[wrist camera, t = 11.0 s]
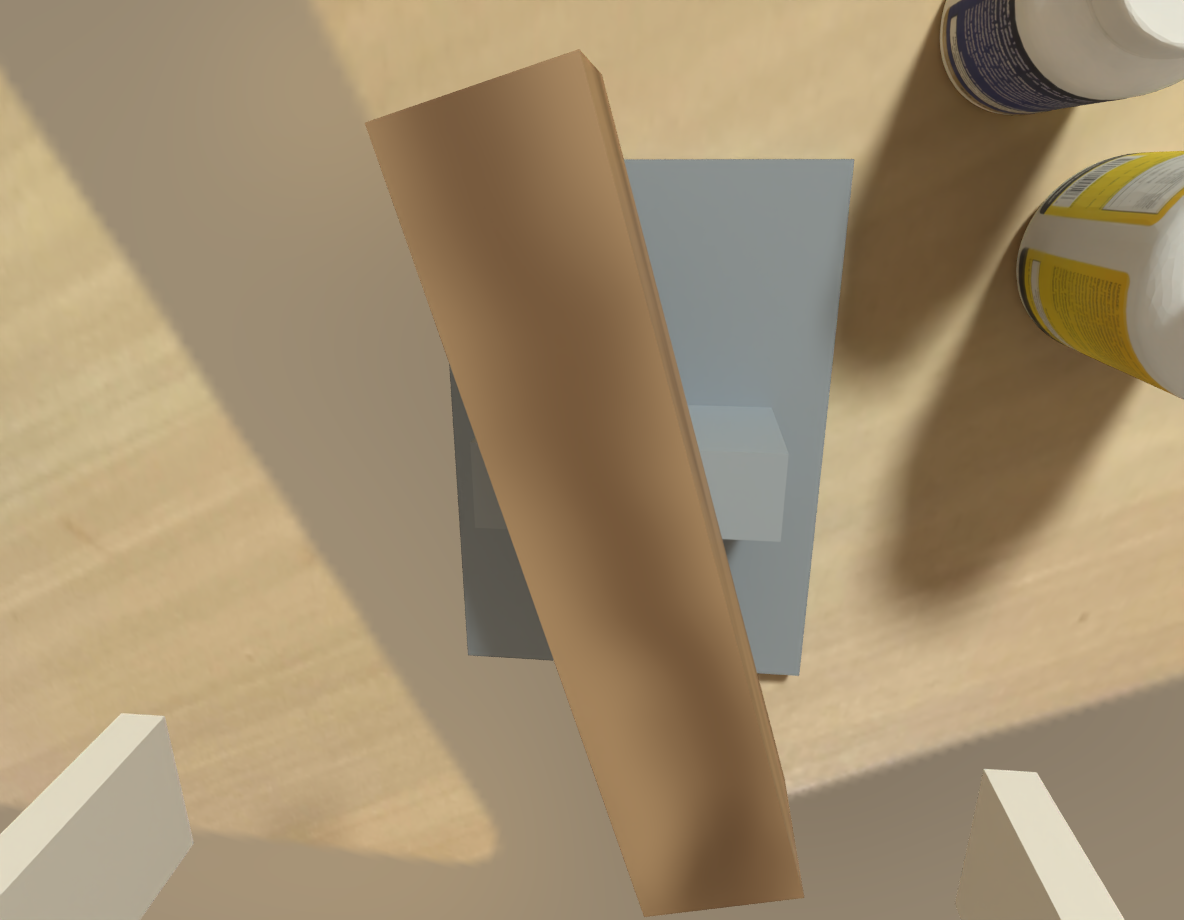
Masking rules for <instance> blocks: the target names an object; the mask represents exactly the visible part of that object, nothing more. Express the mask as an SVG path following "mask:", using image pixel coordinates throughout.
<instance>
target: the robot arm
mask: <svg viewBox="0 0 1184 920" xmlns="http://www.w3.org/2000/svg"><path fill="white" fill-rule="evenodd" d="M193 844H194V842H193V837H192V833H191V828H190V824H189V820H188V815H187V811H186V807H185V802H184V798H183V794H182V789H181V785H180V781H179V776H178V772H177V767H176V763H175V759H174V754H173V750H172V746H171V741H170V737H169V733H168V728H167V724H166V720H165V716H155V715H139V714H124V713H121V714H120V715H119V716H118V717H117V718H116V719H115V720H114V721H113V722H112V723H111V724H110V725H109V726H108V727H107V728H106V729H105V730H104V731H103V732H102V733H101V734H100V735H99V736H98V737H97V738H96V739H95V740H94V741H93V742H92V743H91V744H90V745H89V746H88V747H87V748H86V749H85V750H84V751H83V752H82V753H81V754H80V755H79V756H78V757H77V758H76V759H75V760H74V761H73V762H72V763H71V764H70V765H69V766H68V767H67V768H66V769H65V770H64V771H63V772H62V773H61V774H60V775H59V776H58V777H57V778H56V779H55V780H54V781H53V782H52V783H51V784H50V785H49V786H48V787H47V788H46V789H45V790H44V791H43V792H42V793H41V794H40V795H39V796H38V797H37V798H36V799H35V800H34V801H33V802H32V803H31V804H30V805H29V806H28V807H27V808H26V809H25V810H24V811H23V812H22V813H21V814H20V815H19V816H18V817H17V818H16V819H15V820H14V821H13V822H12V823H11V824H10V825H9V826H8V827H7V828H6V829H5V830H4V831H3V832H2V833H1V834H0V920H140V919H141V918H142V916H143V915H144V913H145V912H146V911H147V909H148V908H149V906H150V905H151V903H152V902H153V901H154V899H155V898H156V896H157V895H158V894H159V892H160V890H161V889H162V888H163V886H164V885H165V883H166V882H167V881H168V879H169V878H170V876H171V875H172V874H173V872H174V871H175V869H176V868H177V866H178V865H179V864H180V862H181V861H182V859H183V858H184V857H185V855H186V854H187V852H188V851H189V849H190V848H191V847H192V845H193ZM955 905H956V908H957V910H958V913H959V915H960V918H961V920H1124V918H1123V917H1122V915H1121V913H1120V912H1119V910H1118V908H1117V907H1116V905H1115V903H1114V901H1113V900H1112V898H1111V897H1110V895H1109V893H1108V892H1107V890H1106V888H1105V886H1104V885H1103V883H1102V881H1101V880H1100V878H1099V876H1098V875H1097V873H1096V871H1095V870H1094V868H1093V866H1092V865H1091V863H1090V861H1089V860H1088V858H1087V856H1086V855H1085V853H1084V851H1083V849H1082V848H1081V846H1080V844H1079V843H1078V841H1077V839H1076V838H1075V836H1074V834H1073V833H1072V831H1071V829H1070V828H1069V826H1068V824H1067V823H1066V821H1065V819H1064V818H1063V816H1062V814H1061V813H1060V811H1059V809H1058V808H1057V806H1056V804H1055V803H1054V801H1053V800H1052V798H1051V796H1050V794H1049V792H1048V791H1047V789H1046V788H1045V786H1044V784H1043V782H1042V781H1041V779H1040V777H1039V776H1038V774H1037V773H1036V772H1022V771H1007V770H991V769H984V770H983V775H982V780H981V784H980V789H979V794H978V798H977V803H976V808H975V812H974V817H973V822H972V826H971V831H970V836H969V841H968V846H967V850H966V854H965V859H964V864H963V868H962V873H961V877H960V882H959V887H958V892H957V896H956V901H955Z"/></svg>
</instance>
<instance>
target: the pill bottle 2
mask: <svg viewBox="0 0 1184 920" xmlns="http://www.w3.org/2000/svg"><path fill="white" fill-rule="evenodd" d="M1016 275H1017V285H1018V291H1019V294H1020V298H1021V301H1022V303H1023V305H1024V307H1025V309H1026V311H1027V313H1028V315H1029V316H1030V317H1031V319H1032V320H1033V321H1034V323H1035V324H1036V325H1037V326H1038V327H1039V328H1040V329H1041V330H1042V331H1043V332H1045V333H1046V334H1047V335H1048V336H1050V337H1051V338H1053V339H1054V340H1056V341H1058V342H1060V343H1061V344H1063V345H1065V346H1068V347H1070V348H1072V349H1074V350H1076V351H1078V352H1081V353H1083V354H1085V355H1087V356H1089V357H1091V358H1094V359H1096V360H1098V361H1100V362H1102V363H1104V364H1107V365H1109V366H1111V367H1113V368H1116V369H1118V370H1120V371H1122V372H1125V373H1127V374H1129V375H1131V376H1133V377H1136V378H1138V379H1140V380H1142V381H1144V382H1146V383H1149V384H1151V385H1153V386H1155V387H1157V388H1160V389H1162V390H1164V391H1166V392H1168V393H1170V394H1173V395H1175V396H1177V397H1179V398H1181V399H1184V151H1171V152H1148V153H1134V154H1126V155H1122V156H1117V157H1113V158H1110V159H1107V160H1104V161H1101V162H1098V163H1096V164H1094V165H1091V166H1089V167H1087V168H1085V169H1084V170H1082V171H1080V172H1078V173H1077V174H1075V175H1074V176H1072V177H1071V178H1069V179H1068V180H1066V181H1065V182H1064V183H1063V184H1061V185H1060V186H1059V187H1058V188H1057V189H1056V190H1055V191H1053V192H1052V193H1051V194H1050V195H1049V196H1048V198H1047V199H1046V200H1045V201H1044V202H1043V203H1042V205H1041V206H1040V207H1039V209H1038V210H1037V211H1036V213H1035V214H1034V216H1033V217H1032V219H1031V221H1030V223H1029V225H1028V226H1027V229H1026V231H1025V233H1024V236H1023V239H1022V241H1021V245H1020V248H1019V253H1018V258H1017V269H1016Z"/></svg>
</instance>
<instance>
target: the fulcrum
mask: <svg viewBox="0 0 1184 920" xmlns="http://www.w3.org/2000/svg"><path fill="white" fill-rule="evenodd" d="M624 162H625V166H626V170H627V174H628V178H629V182H630V185H631V189H632V193H633V197H634V201H635V205H636V209H637V212H638V216H639V220H640V224H641V228H642V232H643V236H644V239H645V243H646V247H647V251H648V255H649V259H650V262H651V266H652V270H653V274H654V278H655V282H656V286H657V289H658V293H659V297H660V301H661V305H662V309H663V313H664V316H665V320H666V324H667V328H668V332H669V336H670V340H671V343H672V347H673V351H674V355H675V359H676V363H677V367H678V370H679V374H680V378H681V382H682V386H683V390H684V394H685V397H686V401H687V405H688V409H689V413H690V417H691V420H692V424H693V428H694V432H695V436H696V440H697V444H698V447H699V451H700V455H701V459H702V463H703V467H704V471H705V474H706V478H707V482H708V486H709V490H710V494H711V498H712V501H713V505H714V509H715V513H716V517H717V521H718V525H719V528H720V532H721V536H722V540H723V544H724V548H725V552H726V555H727V559H728V563H729V567H730V571H731V575H732V578H733V582H734V586H735V590H736V594H737V598H738V602H739V605H740V609H741V613H742V617H743V621H744V625H745V629H746V632H747V636H748V640H749V644H750V648H751V652H752V656H753V659H754V663H755V667H756V671H757V673H763V674H779V675H795V676H799V672H800V662H801V653H802V644H803V634H804V625H805V616H806V606H807V597H808V588H809V578H810V569H811V559H812V550H813V541H814V531H815V522H816V513H817V503H818V494H819V485H820V475H821V466H822V457H823V447H824V438H825V429H826V419H827V410H828V400H829V391H830V382H831V372H832V363H833V354H834V344H835V335H836V326H837V316H838V307H839V298H840V288H841V279H842V270H843V260H844V251H845V241H846V232H847V223H848V213H849V204H850V195H851V185H852V176H853V167H854V159H701V160H624ZM449 366H450V364H449ZM450 381H451V397H452V412H453V428H454V444H455V458H456V475H457V489H458V505H459V521H460V537H461V552H462V568H463V584H464V598H465V614H466V630H467V646H468V655H473V656H489V657H490V656H491V657H506V658H522V659H539V660H554V659H553V656H552V653H551V651H550V648H549V645H548V642H547V639H546V636H545V634H544V631H543V628H542V625H541V622H540V619H539V617H538V614H537V611H536V608H535V605H534V602H533V599H532V597H531V594H530V591H529V588H528V585H527V582H526V580H525V577H524V574H523V571H522V568H521V565H520V563H519V560H518V557H517V554H516V551H515V548H514V546H513V543H512V540H511V537H510V534H509V531H508V528H507V526H506V523H505V520H504V517H503V514H502V511H501V509H500V506H499V503H498V500H497V497H496V494H495V492H494V489H493V486H492V483H491V480H490V477H489V474H488V472H487V469H486V466H485V463H484V460H483V457H482V455H481V452H480V449H479V446H478V443H477V440H476V438H475V435H474V432H473V429H472V426H471V423H470V420H469V418H468V415H467V412H466V409H465V406H464V403H463V401H462V398H461V395H460V392H459V389H458V386H457V384H456V381H455V378H454V375H453V372H452V369H451V366H450Z"/></svg>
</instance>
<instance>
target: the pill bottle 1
mask: <svg viewBox="0 0 1184 920" xmlns="http://www.w3.org/2000/svg"><path fill="white" fill-rule="evenodd" d="M940 49H941V56H942V61H943V64H944V67H945V70H946V72H947V74H948V76H949V78H950V80H951V82H952V83H953V85H954V86H955V88H956V89H957V90H958V91H959V92H960V93H961V95H962V96H964V97H965V98H966V99H967V100H969V101H970V102H971V103H973V104H974V105H976V106H978V107H980V108H982V109H984V110H987V111H990V112H994V113H998V114H1006V115H1025V114H1034V113H1039V112H1045V111H1051V110H1057V109H1062V108H1068V107H1074V106H1080V105H1087V104H1094V103H1100V102H1106V101H1114V100H1120V99H1126V98H1130V97H1136V96H1141V95H1145V94H1148V93H1152V92H1156V91H1158V90H1161V89H1164V88H1166V87H1168V86H1171V85H1173V84H1175V83H1177V82H1179V81H1181V80H1183V79H1184V0H946V3H945V6H944V9H943V14H942V19H941V26H940Z"/></svg>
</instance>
